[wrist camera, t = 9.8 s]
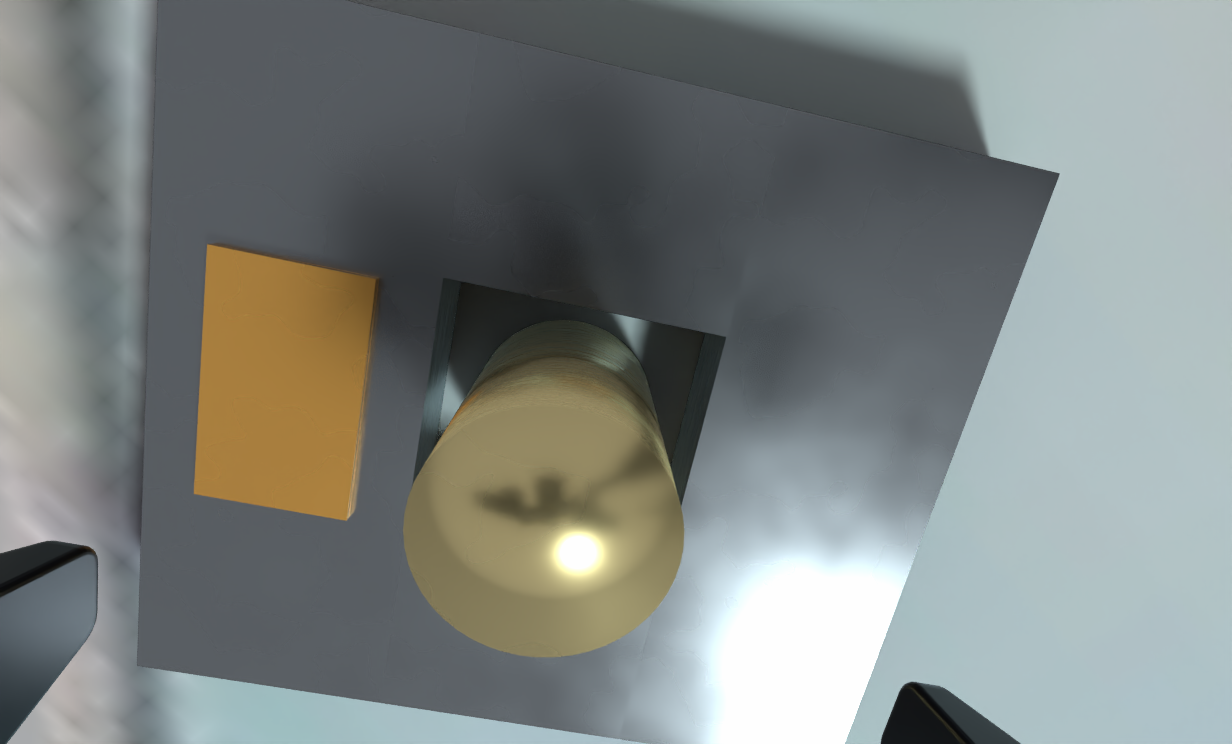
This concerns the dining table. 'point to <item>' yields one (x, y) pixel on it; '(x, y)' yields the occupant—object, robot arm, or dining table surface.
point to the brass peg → (548, 499)
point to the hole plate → (564, 272)
